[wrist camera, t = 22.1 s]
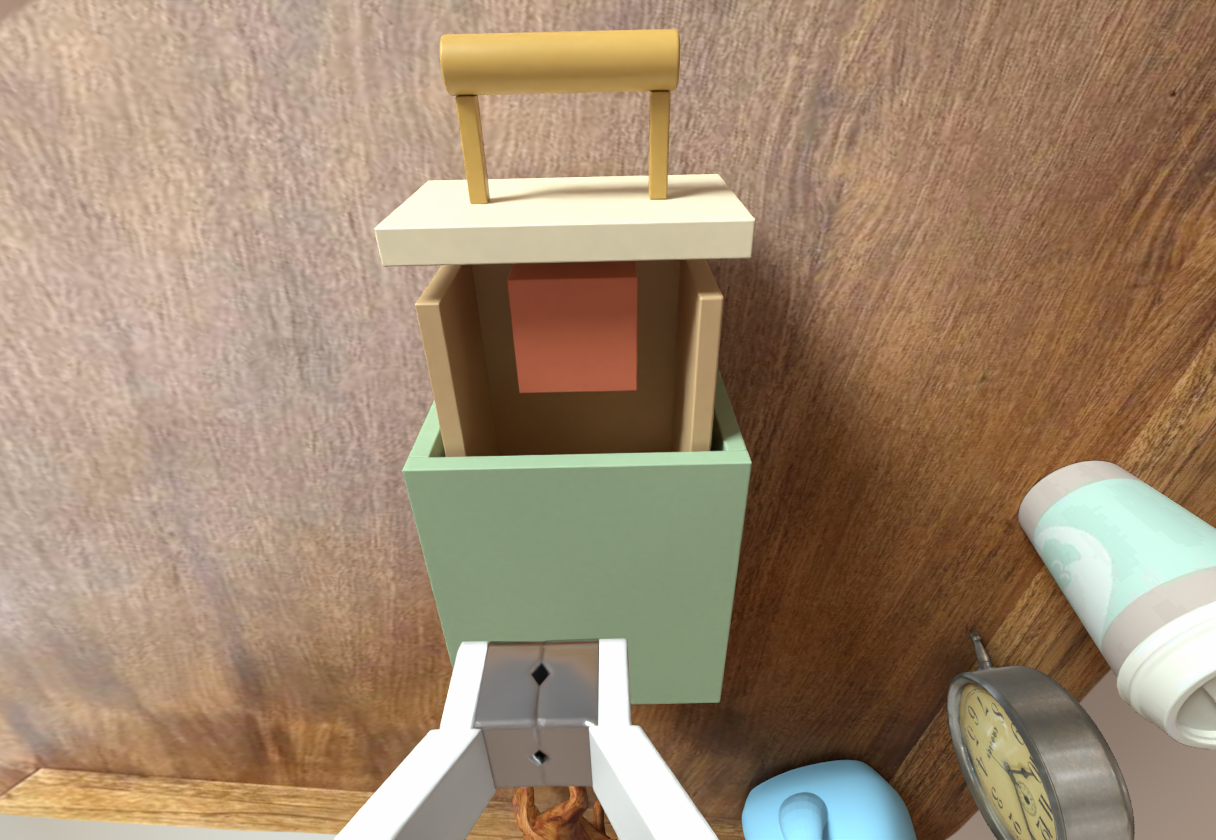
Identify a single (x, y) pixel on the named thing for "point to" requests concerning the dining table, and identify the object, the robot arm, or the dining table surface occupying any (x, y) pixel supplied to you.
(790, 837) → the teapot
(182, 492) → the dining table surface
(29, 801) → the dining table surface
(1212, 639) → the coffee cup
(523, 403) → the drawer
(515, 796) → the cat figurine
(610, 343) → the block
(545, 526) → the cabinet
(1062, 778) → the alarm clock
